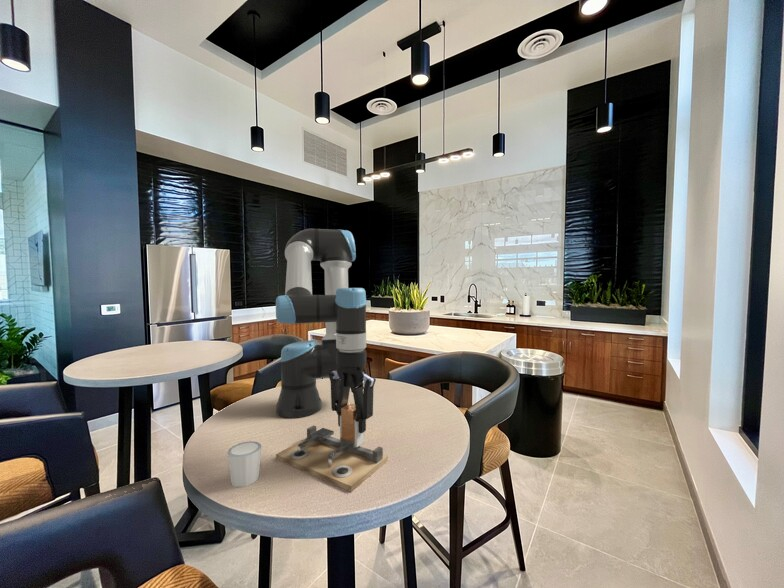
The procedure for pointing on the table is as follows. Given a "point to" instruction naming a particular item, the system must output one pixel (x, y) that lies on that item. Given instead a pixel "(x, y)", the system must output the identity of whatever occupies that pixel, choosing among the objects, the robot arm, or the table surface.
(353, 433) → the block
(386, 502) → the table surface
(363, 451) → the bolt plate
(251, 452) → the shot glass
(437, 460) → the table surface
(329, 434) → the fixed leg
